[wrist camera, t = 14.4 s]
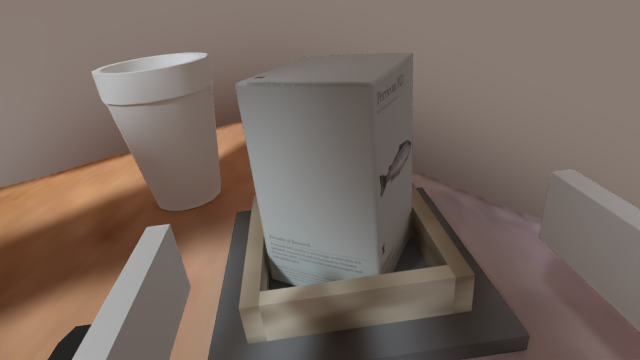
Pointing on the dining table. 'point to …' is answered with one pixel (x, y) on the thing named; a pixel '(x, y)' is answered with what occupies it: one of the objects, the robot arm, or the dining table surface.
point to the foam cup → (167, 124)
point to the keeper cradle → (364, 303)
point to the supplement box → (332, 163)
